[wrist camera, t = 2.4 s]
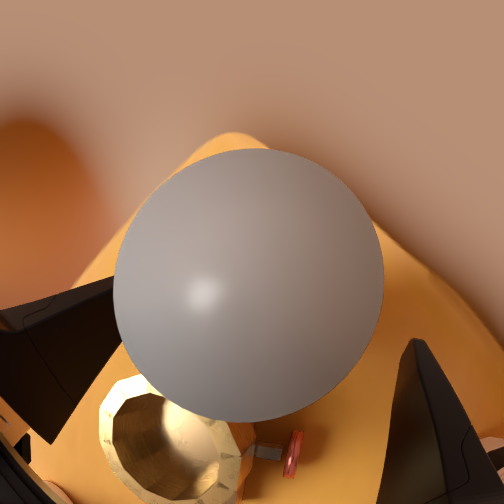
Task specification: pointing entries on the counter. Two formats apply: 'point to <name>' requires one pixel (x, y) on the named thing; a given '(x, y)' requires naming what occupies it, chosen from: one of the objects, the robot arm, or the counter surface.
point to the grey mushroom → (248, 285)
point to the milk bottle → (59, 492)
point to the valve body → (180, 448)
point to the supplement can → (495, 453)
